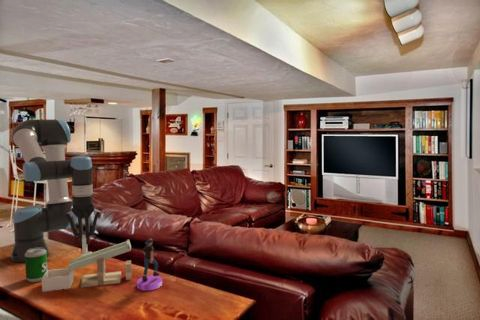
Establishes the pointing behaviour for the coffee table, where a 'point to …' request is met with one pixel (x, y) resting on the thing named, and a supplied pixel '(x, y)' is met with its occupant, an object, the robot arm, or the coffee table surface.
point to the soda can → (35, 264)
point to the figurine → (150, 280)
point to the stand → (105, 275)
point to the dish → (57, 280)
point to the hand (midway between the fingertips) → (85, 252)
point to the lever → (106, 253)
